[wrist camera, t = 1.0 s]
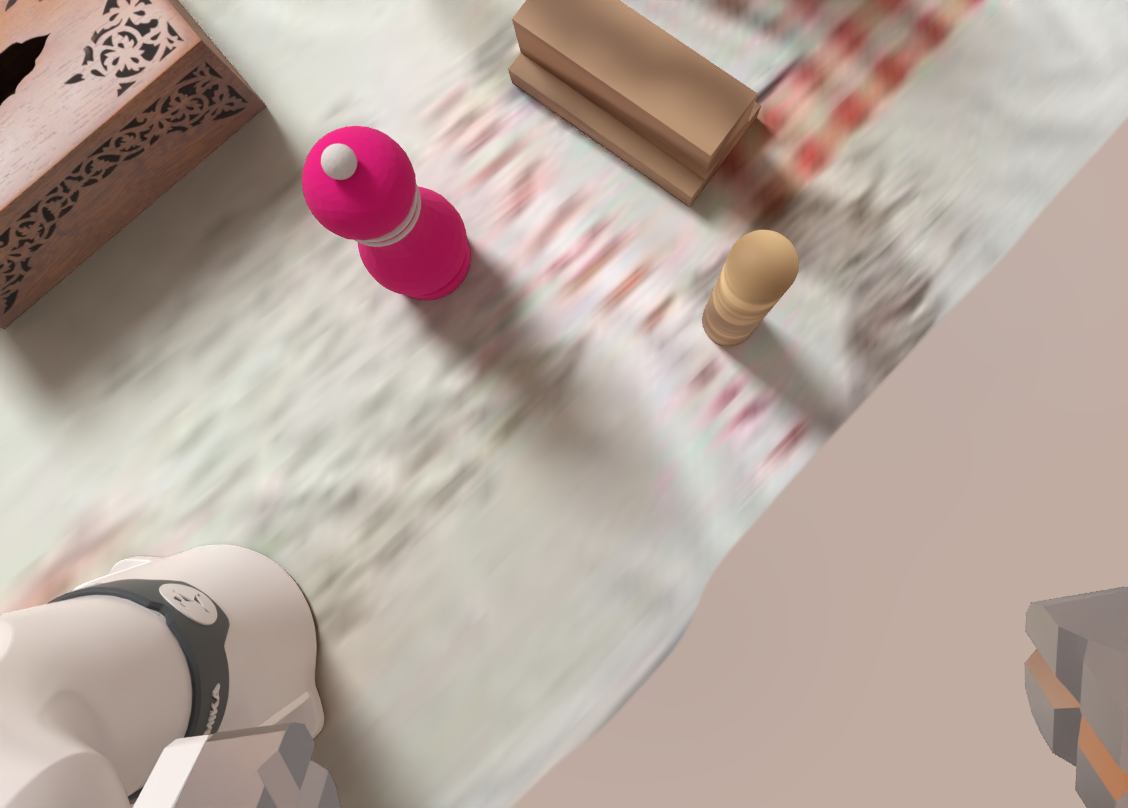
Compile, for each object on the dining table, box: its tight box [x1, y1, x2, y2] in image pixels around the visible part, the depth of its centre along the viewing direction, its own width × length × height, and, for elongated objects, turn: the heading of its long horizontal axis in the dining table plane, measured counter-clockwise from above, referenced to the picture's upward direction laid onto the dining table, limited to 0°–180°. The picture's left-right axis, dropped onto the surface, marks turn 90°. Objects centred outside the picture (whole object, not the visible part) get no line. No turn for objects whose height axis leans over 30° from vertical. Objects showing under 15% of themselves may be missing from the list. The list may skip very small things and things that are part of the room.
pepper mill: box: [302, 126, 471, 300], centre depth 52 cm, size 7×7×20 cm
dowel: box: [702, 230, 799, 346], centre depth 52 cm, size 4×4×16 cm
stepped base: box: [508, 0, 761, 207], centre depth 59 cm, size 8×16×6 cm, turn 53°
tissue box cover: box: [0, 0, 266, 329], centre depth 60 cm, size 26×14×10 cm, turn 130°
